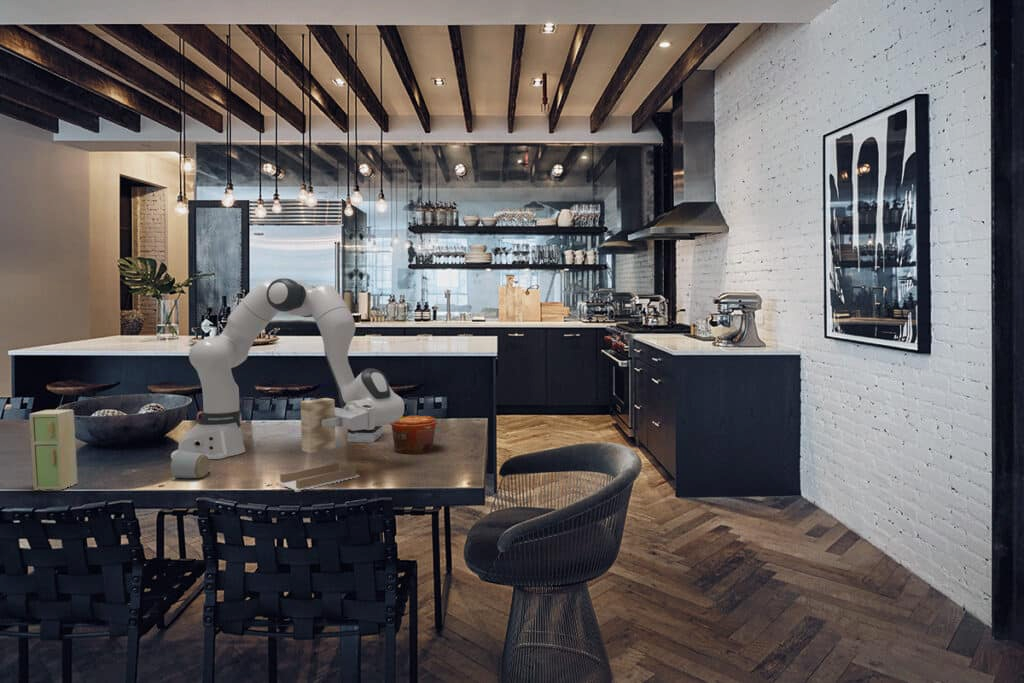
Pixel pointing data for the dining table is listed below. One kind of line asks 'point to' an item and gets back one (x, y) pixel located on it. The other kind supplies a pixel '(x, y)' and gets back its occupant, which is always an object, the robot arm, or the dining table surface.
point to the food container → (414, 434)
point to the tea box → (365, 434)
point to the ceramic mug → (189, 465)
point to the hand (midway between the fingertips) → (315, 421)
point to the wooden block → (317, 425)
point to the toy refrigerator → (53, 449)
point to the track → (316, 476)
